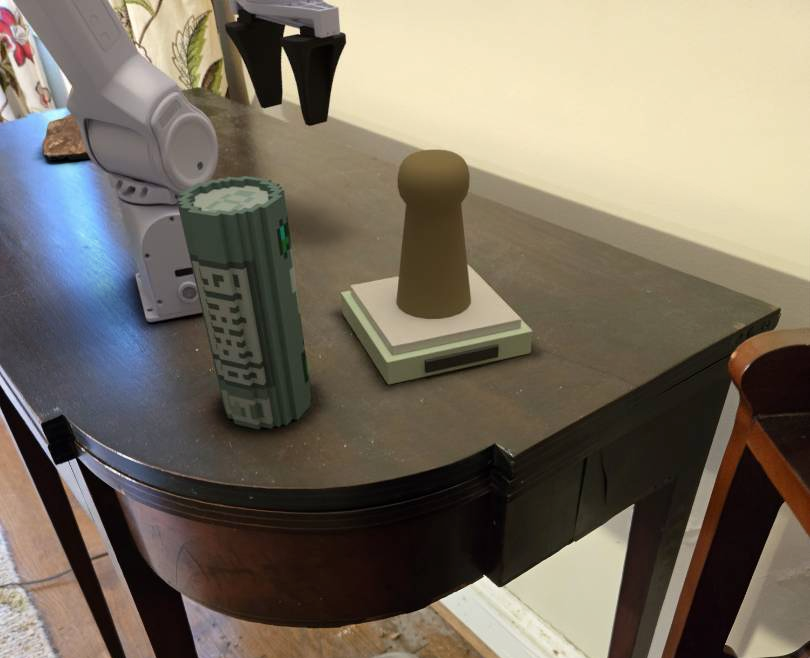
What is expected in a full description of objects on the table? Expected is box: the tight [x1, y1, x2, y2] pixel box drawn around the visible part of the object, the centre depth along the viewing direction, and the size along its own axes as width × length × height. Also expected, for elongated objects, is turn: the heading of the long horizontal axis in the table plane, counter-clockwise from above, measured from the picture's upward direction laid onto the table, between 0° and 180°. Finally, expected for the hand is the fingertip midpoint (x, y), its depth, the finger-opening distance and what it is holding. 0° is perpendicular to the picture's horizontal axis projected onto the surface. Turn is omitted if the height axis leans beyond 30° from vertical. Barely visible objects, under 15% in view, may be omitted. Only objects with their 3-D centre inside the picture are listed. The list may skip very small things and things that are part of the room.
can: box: [177, 175, 312, 430], centre depth 52 cm, size 6×6×15 cm
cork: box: [396, 149, 471, 319], centre depth 58 cm, size 6×6×11 cm
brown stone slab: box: [41, 113, 90, 161], centre depth 99 cm, size 12×13×4 cm
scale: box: [340, 263, 534, 386], centre depth 63 cm, size 12×12×3 cm
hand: (293, 114), depth 73 cm, fingers open, 7 cm apart
